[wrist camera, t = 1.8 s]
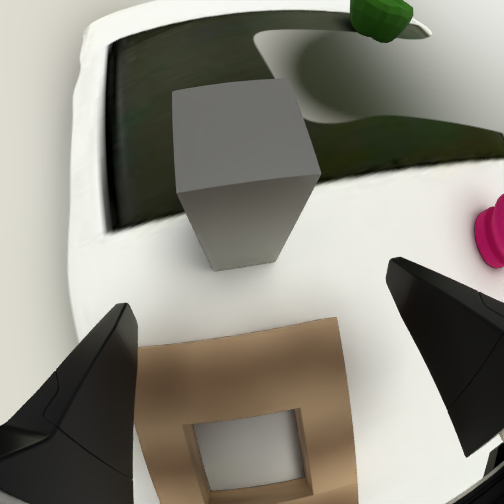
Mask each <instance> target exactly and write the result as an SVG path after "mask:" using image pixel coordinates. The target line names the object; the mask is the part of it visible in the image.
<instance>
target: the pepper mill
mask: <svg viewBox="0 0 504 504" xmlns="http://www.w3.org/2000/svg"><path fill="white" fill-rule="evenodd" d="M475 238H476V242H477V246H478V249H479V251H480V254H481V255H482V257H483V259H484V260H485V262H487V263H488V264H489V265H490V266H491V267H494V268H500V267H504V194H502V195H501V196H500V197H499V198H498V200H497V202H496V204H495V207H490V208H488V209H487V210H485V211H483V212H482V213H480V214H479V215H478V217H477V220H476V223H475Z"/></svg>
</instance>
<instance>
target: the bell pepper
mask: <svg viewBox="0 0 504 504" xmlns="http://www.w3.org/2000/svg"><path fill="white" fill-rule="evenodd" d="M412 17H413V7H411V6H410V5H409V4H407V3H406V2H404V1H403V0H350V20H351V23H352V25H353V28H354V29H355V30H356V31H357V32H358V33H359V34H361V35H364V36H367V37H372V38H373V39H374V40H376V41H379V42H381V43H388V42H391V41H392V40H394V39H395V38H396V37H397V36H398V35H399V34H400V33H401V32H402V31H403V30H404V29H405V28H406V27H407V26H408V25H409V23H410V21H411V19H412Z"/></svg>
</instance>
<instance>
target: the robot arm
mask: <svg viewBox="0 0 504 504" xmlns="http://www.w3.org/2000/svg"><path fill="white" fill-rule="evenodd" d="M386 283H387V286H388V288H389V290H390V292H391V295H392V297H393V299H394V301H395V304H396V306H397V308H398V311H399V313H400V315H401V317H402V319H403V321H404V323H405V325H406V327H407V328H408V330H409V332H410V334H411V336H412V338H413V340H414V342H415V344H416V345H417V347H418V349H419V351H420V353H421V355H422V357H423V359H424V361H425V363H426V365H427V367H428V369H429V371H430V374H431V376H432V378H433V380H434V382H435V384H436V386H437V388H438V391H439V393H440V395H441V397H442V400H443V402H444V404H445V406H446V409H447V410H448V414H449V416H450V419H451V421H452V423H453V426H454V428H455V431H456V433H457V436H458V439H459V441H460V444H461V447H462V449H463V452H464V455H465V457H466V458H467V457H469V456H470V455H471V454H473V453H474V452H476V451H477V450H479V449H480V448H481V447H483V446H484V445H485V444H487V443H488V442H489V441H491V440H492V439H493V438H494V437H496V436H497V435H498V434H499V435H500V437H501V439H502V441H503V442H502V443H501V444H500V445H498V446H497V447H496V448H495V449H493V450H492V451H491V452H490V454H489V458H488V462H487V465H486V469H485V473H484V476H483V478H482V479H481V480H480V481H478V482H477V483H476V484H474V485H473V486H471V487H470V488H469V489H467V490H466V491H464V492H463V493H461V494H460V495H458V496H457V497H455V498H454V499H452V500H450V501H449V502H447V503H446V504H504V303H503V302H500V301H498V300H496V299H494V298H492V297H489V296H487V295H485V294H483V293H481V292H478V291H477V290H474V289H472V288H470V287H468V286H466V285H464V284H462V283H459V282H457V281H455V280H453V279H451V278H448V277H446V276H444V275H442V274H439V273H437V272H435V271H433V270H430V269H428V268H426V267H423V266H421V265H419V264H416V263H414V262H412V261H409V260H407V259H405V258H402V257H396V258H391V259H390V261H389V264H388V269H387V274H386ZM137 369H138V324H137V321H136V318H135V316H134V314H133V312H132V309H131V307H130V305H129V304H128V303H119V304H116V305H115V306H114V307H113V308H112V309H111V310H110V311H109V312H108V313H107V314H106V315H105V316H104V317H103V318H102V319H101V320H100V322H99V323H98V324H97V325H96V326H95V327H94V328H93V329H92V330H91V331H90V332H89V333H88V334H87V336H86V337H85V338H84V339H83V340H82V341H81V342H80V343H79V344H78V345H77V346H76V348H75V349H74V350H73V351H72V352H71V353H70V354H69V355H68V357H67V358H66V359H65V360H64V361H63V362H62V363H61V365H60V366H59V367H58V368H57V369H56V371H54V372H53V374H52V375H51V376H50V377H49V378H48V380H47V381H46V382H45V383H44V384H43V385H42V386H41V387H40V389H39V390H37V392H36V393H35V394H34V395H33V396H32V397H31V398H30V399H29V400H28V401H27V402H26V403H25V404H24V405H23V406H22V407H21V408H20V409H19V410H18V411H17V412H16V413H15V414H14V415H13V416H12V417H11V418H10V419H9V420H8V421H7V422H6V423H5V424H3V425H1V426H0V504H134V500H133V480H132V479H133V426H134V407H135V393H136V381H137Z"/></svg>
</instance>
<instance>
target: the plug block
mask: <svg viewBox="0 0 504 504" xmlns="http://www.w3.org/2000/svg"><path fill="white" fill-rule="evenodd" d="M172 111H173V141H174V161H175V177H176V191H177V195H178V197H179V199H180V202H181V204H182V206H183V208H184V210H185V212H186V214H187V217H188V219H189V221H190V223H191V225H192V227H193V229H194V231H195V234H196V236H197V238H198V240H199V242H200V244H201V246H202V248H203V250H204V252H205V254H206V256H207V258H208V260H209V262H210V264H211V266H212V268H213V270H214V271H221V270H227V269H233V268H240V267H246V266H252V265H258V264H264V263H271V262H275V261H276V259H277V258H278V256H279V254H280V252H281V250H282V248H283V246H284V244H285V243H286V241H287V239H288V237H289V235H290V233H291V231H292V229H293V227H294V225H295V224H296V222H297V220H298V218H299V216H300V214H301V212H302V210H303V208H304V206H305V204H306V202H307V201H308V199H309V197H310V195H311V193H312V191H313V189H314V187H315V185H316V183H317V181H318V179H319V177H320V175H321V171H320V168H319V165H318V162H317V158H316V155H315V152H314V149H313V146H312V143H311V140H310V137H309V134H308V131H307V128H306V125H305V122H304V119H303V117H302V114H301V111H300V108H299V106H298V103H297V100H296V97H295V95H294V92H293V89H292V87H291V84H290V82H289V79H266V80H252V81H240V82H231V83H222V84H214V85H207V86H200V87H194V88H188V89H182V90H177V91H172Z"/></svg>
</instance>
